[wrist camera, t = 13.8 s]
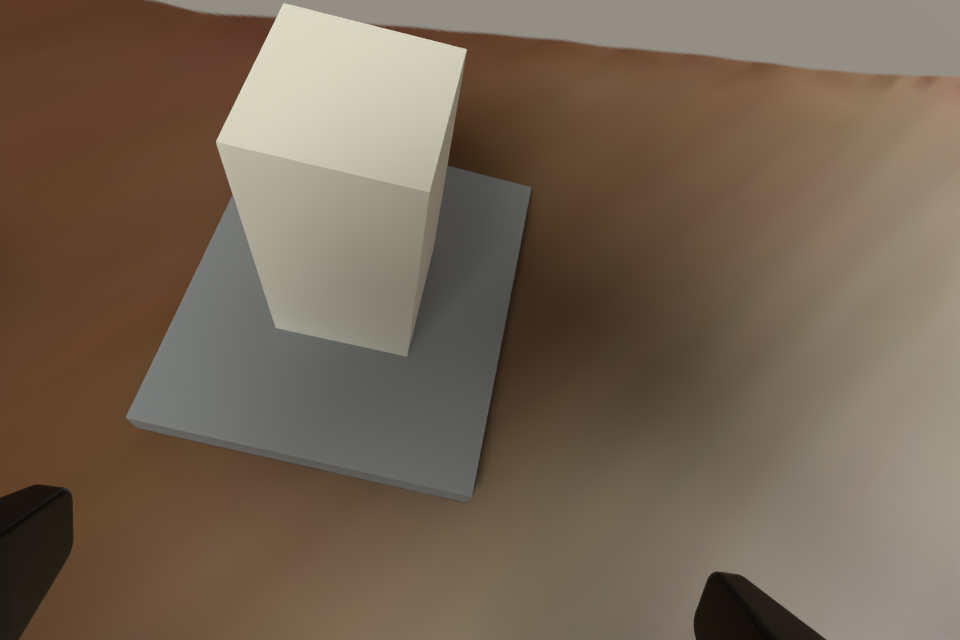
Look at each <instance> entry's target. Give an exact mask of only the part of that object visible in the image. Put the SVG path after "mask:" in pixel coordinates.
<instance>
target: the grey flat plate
mask: <svg viewBox="0 0 960 640" xmlns="http://www.w3.org/2000/svg"><path fill="white" fill-rule="evenodd" d="M530 193H531V187H529V186H525V185H521V184H517V183H513V182H509V181H505V180H502V179H498V178H494V177H490V176H486V175H482V174H478V173H474V172H471V171H467V170H463V169H459V168H455V167H451V166H447V171H446V177H445V183H444V189H443V195H442V201H441V207H440V213H439V219H438V225H437V231H436V237H435V243H434V249H433V253H432V257H431V261H430V265H429V269H428V273H427V277H426V282H425V286H424V290H423V294H422V298H421V302H420V306H419V310H418V315H417V319H416V323H415V327H414V331H413V335H412V339H411V343H410V347H409V352H408V356H407V357H406V356H402V355H397V354H393V353H388V352H383V351H379V350H374V349H370V348H365V347H361V346H356V345H351V344H347V343H342V342H338V341H333V340H328V339H324V338H319V337H315V336H310V335H305V334H301V333H296V332H292V331H287V330H283V329H278V328H275V325H274V322H273V318H272V315H271V312H270V309H269V306H268V303H267V300H266V297H265V293H264V290H263V287H262V284H261V281H260V278H259V275H258V272H257V268H256V265H255V262H254V259H253V256H252V253H251V250H250V247H249V244H248V240H247V237H246V234H245V231H244V228H243V225H242V222H241V219H240V215H239V212H238V209H237V206H236V203H235V200H234V197H233V195H232V197H231V200H230V202H229V204H228V206H227V208H226V210H225V212H224V214H223V216H222V218H221V220H220V222H219V225H218V227H217V229H216V231H215V233H214V235H213V237H212V239H211V241H210V243H209V245H208V247H207V249H206V252H205V254H204V256H203V258H202V260H201V262H200V264H199V266H198V268H197V270H196V272H195V274H194V277H193V279H192V281H191V283H190V285H189V287H188V289H187V291H186V293H185V295H184V297H183V299H182V302H181V304H180V306H179V308H178V310H177V312H176V314H175V316H174V318H173V320H172V322H171V324H170V326H169V329H168V331H167V333H166V335H165V337H164V339H163V341H162V343H161V345H160V347H159V349H158V351H157V354H156V356H155V358H154V360H153V362H152V364H151V366H150V368H149V370H148V372H147V374H146V376H145V379H144V381H143V383H142V385H141V387H140V389H139V391H138V393H137V395H136V397H135V399H134V401H133V404H132V406H131V408H130V410H129V412H128V414H127V416H126V419H127V420H129V421H130V422H131V423H132V424H133V425H135V426H136V427H137V428H140V429H144V430H149V431H153V432H157V433H162V434H166V435H171V436H175V437H179V438H184V439H188V440H192V441H197V442H201V443H206V444H210V445H214V446H219V447H223V448H228V449H232V450H236V451H241V452H245V453H250V454H254V455H258V456H263V457H267V458H271V459H276V460H280V461H285V462H289V463H293V464H298V465H302V466H307V467H311V468H315V469H320V470H324V471H328V472H333V473H337V474H342V475H346V476H350V477H355V478H359V479H364V480H368V481H372V482H377V483H381V484H386V485H390V486H394V487H399V488H403V489H407V490H412V491H416V492H421V493H425V494H429V495H434V496H438V497H443V498H447V499H451V500H456V501H460V502H465V503H468V501H469V500H470V499H471V498H472V494H473V489H474V484H475V478H476V473H477V468H478V463H479V458H480V452H481V447H482V442H483V437H484V432H485V426H486V421H487V416H488V411H489V406H490V400H491V395H492V390H493V385H494V380H495V374H496V369H497V364H498V359H499V354H500V348H501V343H502V338H503V333H504V328H505V323H506V317H507V312H508V307H509V302H510V297H511V291H512V286H513V281H514V276H515V271H516V265H517V260H518V255H519V250H520V245H521V239H522V234H523V229H524V224H525V219H526V213H527V208H528V203H529V198H530Z"/></svg>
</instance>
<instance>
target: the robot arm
mask: <svg viewBox="0 0 960 640" xmlns="http://www.w3.org/2000/svg"><path fill="white" fill-rule="evenodd" d="M72 545H73V499H72V494H71V492H70V491H69V490H68V489H66V488H63V487H56V486H48V485H33V486H30V487H27V488H25V489H22V490H19V491H17V492H14V493H12V494H9V495H6V496H4V497H1V498H0V640H19V639H20V637H21V635H22V634H23V632H24V630H25V629H26V627H27V625H28V624H29V622H30V620H31V619H32V617H33V615H34V614H35V612H36V610H37V609H38V607H39V605H40V604H41V602H42V600H43V599H44V597H45V595H46V594H47V592H48V590H49V589H50V587H51V585H52V584H53V582H54V580H55V579H56V577H57V575H58V574H59V572H60V570H61V569H62V567H63V565H64V564H65V562H66V560H67V558H68V557H69V554H70V552H71V549H72ZM694 633H695V637H696V640H826V639H825V638H823V637H822V636H821V635H819V634H818V633H817V632H815V631H814V630H813V629H812V628H810V627H809V626H808V625H806V624H805V623H804V622H802V621H801V620H800V619H798V618H797V617H796V616H794V615H793V614H792V613H791V612H789V611H788V610H787V609H785V608H784V607H783V606H781V605H780V604H779V603H777V602H776V601H775V600H773V599H772V598H771V597H770V596H768V595H767V594H766V593H764V592H763V591H762V590H760V589H759V588H758V587H756V586H755V585H754V584H752V583H751V582H750V581H749V580H747V579H746V578H745V577H743V576H741V575H739V574H733V573H725V572H714V573H712V574H711V575H710V576H709V578H708V580H707V582H706V585H705V588H704V590H703V593H702V596H701V599H700V601H699V604H698V607H697V610H696V612H695V616H694Z"/></svg>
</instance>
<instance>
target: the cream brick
mask: <svg viewBox="0 0 960 640" xmlns="http://www.w3.org/2000/svg"><path fill="white" fill-rule="evenodd" d="M466 51H467V49H463V48H459V47H455V46H451V45H448V44H444V43H440V42H436V41H432V40H428V39H424V38H420V37H416V36H412V35H408V34H404V33H400V32H396V31H392V30H388V29H384V28H380V27H376V26H372V25H368V24H364V23H360V22H356V21H352V20H349V19H344V18H341V17H336V16H333V15H329V14H325V13H321V12H316V11H313V10H309V9H305V8H301V7H297V6H293V5H289V4H285V3H284V4H283V6H282V8H281V10H280V12H279V14H278V16H277V18H276V20H275V22H274V24H273V26H272V28H271V30H270V32H269V34H268V36H267V38H266V41H265V43H264V45H263V47H262V49H261V51H260V53H259V55H258V57H257V59H256V61H255V63H254V65H253V67H252V69H251V71H250V73H249V75H248V77H247V79H246V81H245V83H244V85H243V88H242V90H241V92H240V94H239V96H238V98H237V100H236V102H235V104H234V106H233V108H232V110H231V112H230V114H229V116H228V118H227V120H226V122H225V124H224V126H223V128H222V130H221V133H220V135H219V137H218V139H217V141H216V144H217V147H218V150H219V153H220V156H221V159H222V162H223V166H224V169H225V172H226V175H227V178H228V181H229V184H230V187H231V191H232V194H233V197H234V200H235V203H236V206H237V209H238V212H239V215H240V219H241V222H242V225H243V228H244V231H245V234H246V237H247V240H248V244H249V247H250V250H251V253H252V256H253V259H254V262H255V265H256V268H257V272H258V275H259V278H260V281H261V284H262V287H263V290H264V293H265V297H266V300H267V303H268V306H269V309H270V312H271V315H272V318H273V322H274V325H275V328H278V329H283V330H287V331H292V332H296V333H301V334H305V335H310V336H315V337H319V338H324V339H328V340H333V341H338V342H342V343H347V344H351V345H356V346H361V347H365V348H370V349H374V350H379V351H383V352H388V353H393V354H397V355H402V356H406V357H407V356H408V352H409V347H410V343H411V339H412V335H413V331H414V327H415V323H416V319H417V315H418V310H419V306H420V302H421V298H422V294H423V290H424V286H425V282H426V277H427V273H428V269H429V265H430V261H431V257H432V253H433V249H434V243H435V237H436V231H437V225H438V219H439V213H440V207H441V201H442V195H443V189H444V183H445V177H446V171H447V165H448V159H449V153H450V147H451V141H452V135H453V129H454V123H455V117H456V111H457V105H458V99H459V93H460V87H461V81H462V75H463V69H464V63H465V57H466Z"/></svg>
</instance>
